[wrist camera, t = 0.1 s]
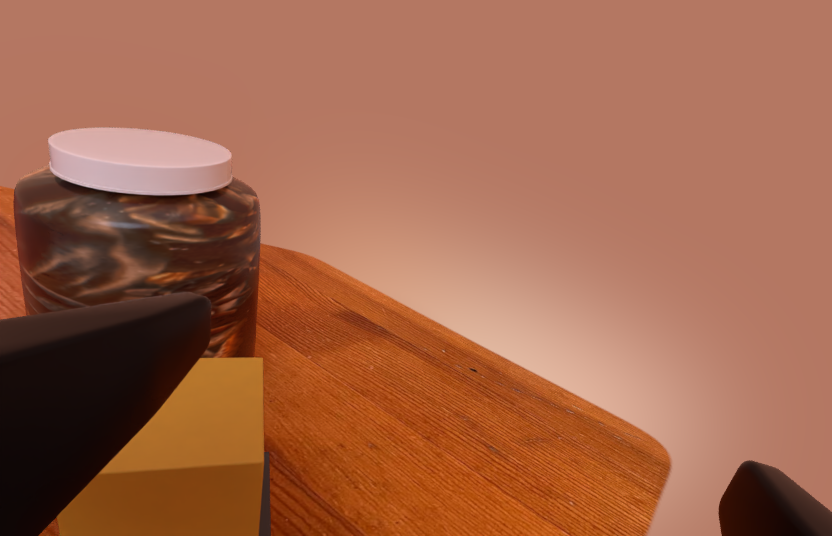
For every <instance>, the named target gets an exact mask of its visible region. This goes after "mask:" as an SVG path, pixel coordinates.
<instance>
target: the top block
mask: <svg viewBox="0 0 832 536" xmlns="http://www.w3.org/2000/svg"><path fill="white" fill-rule="evenodd" d="M263 471H264V371H263V358H262V357H255V358H200V359H199V360H198V361H197V363H196V364H195V365H194V366H193V368H192V369H191V370H190V371H189V373H188V374H187V375H186V377H185V378H184V379H183V380H182V382H181V383H180V384H179V385H178V387H177V388H176V389H175V390H174V392H173V393H172V394H171V396H170V397H169V398H168V399H167V401H166V402H165V403H164V404H163V406H162V407H161V408H160V409H159V410H158V412H157V413H156V414H155V415H154V416H153V417H152V418H151V419H150V421H149V422H148V423H147V424H146V425H145V426H144V427H143V428H142V429H141V430H140V431H139V432H138V433H137V434H136V435H135V436H134V437H133V438H132V439H131V440H130V441H129V443H128V444H127V445H126V446H125V447H124V448H123V449H122V450H121V451H120V452H119V453H118V454H117V455H116V456H115V457H114V458H113V459H112V460H111V461H110V462H109V463H108V464H107V465H106V466H105V467H104V468H103V469H102V470H101V471H100V472H99V473H98V475H97V476H96V477H95V478H94V479H93V480H92V481H91V482H90V483H89V484H88V485H87V486H86V487H85V488H84V489H83V490H82V491H81V492H80V493H79V494H78V495H77V496H76V497H75V498H74V499H73V500H72V501H71V502H70V503H69V504H68V505H67V507H66V508H65V509H64V510H63V511H62V512H61V513H60V514H59V515H58V516H57V519H58V526H59V533H60V536H259V523H260V510H261V497H262V484H263Z"/></svg>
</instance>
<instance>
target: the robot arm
mask: <svg viewBox="0 0 832 536" xmlns="http://www.w3.org/2000/svg"><path fill="white" fill-rule="evenodd" d="M211 312H212V306H211V301H210V300H209V299H208V298H207V297H205V296H202V295H199V294H195V293H192V292H180V293H173V294H167V295H160V296H154V297H147V298H140V299H134V300H127V301H121V302H114V303H108V304H101V305H95V306H88V307H81V308H75V309H68V310H62V311H55V312H49V313H42V314H35V315H29V316H22V317H16V318H9V319H3V320H0V536H38V535H39V534H40V533H41V532H42V531H43V530H44V529H45V528H46V527H47V526H48V525H49V524H50V523H51V522H52V521H53V520H54V519H55V518H56V517H57V516H58V515H59V514H60V513H61V512H62V511H63V510H64V509H65V508H66V507H67V505H68V504H69V503H70V502H71V501H72V500H73V499H74V498H75V497H76V496H77V495H78V494H79V493H80V492H81V491H82V490H83V489H84V488H85V487H86V486H87V485H88V484H89V483H90V482H91V481H92V480H93V479H94V478H95V477H96V476H97V475H98V473H99V472H100V471H101V470H102V469H103V468H104V467H105V466H106V465H107V464H108V463H109V462H110V461H111V460H112V459H113V458H114V457H115V456H116V455H117V454H118V453H119V452H120V451H121V450H122V449H123V448H124V447H125V446H126V445H127V444H128V443H129V441H130V440H131V439H132V438H133V437H134V436H135V435H136V434H137V433H138V432H139V431H140V430H141V429H142V428H143V427H144V426H145V425H146V424H147V423H148V422H149V421H150V419H151V418H152V417H153V416H154V415H155V414H156V413H157V412H158V410H159V409H160V408H161V407H162V406H163V404H164V403H165V402H166V401H167V399H168V398H169V397H170V396H171V394H172V393H173V392H174V390H175V389H176V388H177V387H178V385H179V384H180V383H181V382H182V380H183V379H184V378H185V377H186V375H187V374H188V373H189V371H190V370H191V369H192V368H193V366H194V365H195V364H196V363H197V361H198V360H199V359H200V358H201V356H202V355H203V354H204V353H205V351H206V350H207V348H208V346H209V343H210V339H211ZM719 520H720V527H721V534H722V536H832V512H831V511H830V510H828V509H827V508H826V507H825V506H823V505H822V504H821V503H820V502H819V501H817V500H816V499H815V498H814V497H812V496H811V495H810V494H809V493H807V492H806V491H805V490H804V489H802V488H801V487H800V486H799V485H797V484H796V483H795V482H794V481H793V480H791V479H790V478H789V477H788V476H786V475H785V474H784V473H783V472H781V471H780V470H779V469H776V468H774V467H772V466H768V465H765V464H762V463H758V462H754V461H745V462H743V463H742V464H741V465H740V467H739V468H738V470H737V472H736V473H735V475H734V477H733V479H732V480H731V482H730V484H729V486H728V487H727V489H726V491H725V493H724V495H723V496H722V498H721V501H720V504H719Z"/></svg>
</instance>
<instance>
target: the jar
mask: <svg viewBox="0 0 832 536" xmlns="http://www.w3.org/2000/svg"><path fill="white" fill-rule="evenodd" d="M48 145H49V154H50V163H49V166H46V167H43V168H40V169H37V170H34V171H32V172H30V173H28V174H26V175H25V176H23V177H22V178H21V179H20V180H19V181H18V183H17V185H16V187H15V190H14V219H15V231H16V240H17V248H18V257H19V265H20V273H21V280H22V287H23V295H24V302H25V309H26V316H29V315H35V314H42V313H49V312H55V311H62V310H68V309H75V308H81V307H88V306H95V305H101V304H108V303H114V302H121V301H127V300H134V299H140V298H147V297H154V296H160V295H167V294H173V293H180V292H192V293H195V294H199V295H202V296H205V297H207V298H208V299H209V300H210V301H211V306H212V312H211V339H210V343H209V346H208V348H207V350H206V351H205V353H204V354H203V355H202V356H201V358H254V352H255V336H256V320H257V302H258V283H259V262H260V207H259V206H260V205H259V199H258V197H257V195H256V193H255V191H254V190H253V189H252V188H251V187H249V186H248V185H246V184H245V183H244V182H242V181H240V180H238V179H236V178H234V177H233V176H232V174H231V173H232V154H231V152H230V151H229V150H227V148H225V147H223V146H221V145H219V144H216V143H214V142H210V141H207V140H204V139H200V138H196V137H192V136H187V135H182V134H176V133H170V132H163V131H155V130H146V129H133V128H82V129H73V130H67V131H62V132H59V133H56V134H54V135H52V136H50V138H49V139H48Z"/></svg>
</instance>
